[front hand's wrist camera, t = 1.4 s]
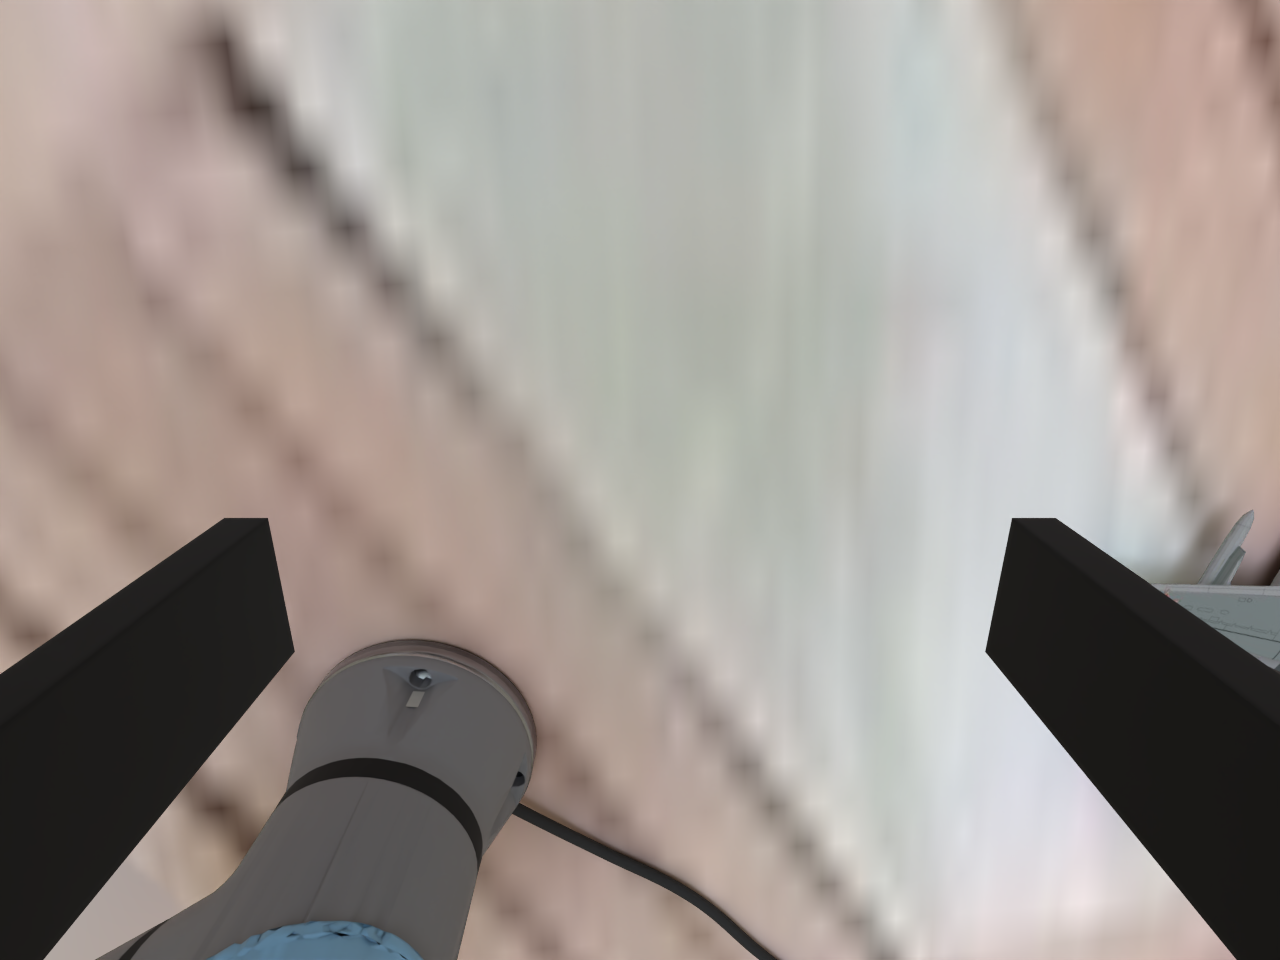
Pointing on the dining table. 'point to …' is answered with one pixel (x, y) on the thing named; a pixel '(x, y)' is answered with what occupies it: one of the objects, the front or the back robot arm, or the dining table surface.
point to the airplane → (1235, 600)
